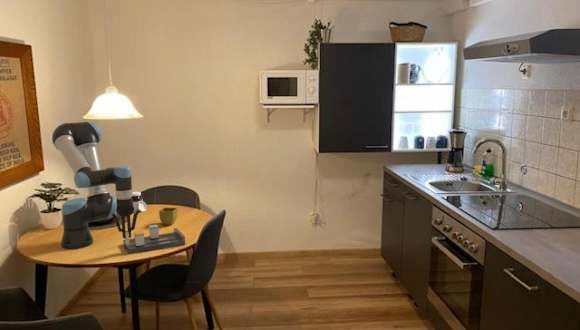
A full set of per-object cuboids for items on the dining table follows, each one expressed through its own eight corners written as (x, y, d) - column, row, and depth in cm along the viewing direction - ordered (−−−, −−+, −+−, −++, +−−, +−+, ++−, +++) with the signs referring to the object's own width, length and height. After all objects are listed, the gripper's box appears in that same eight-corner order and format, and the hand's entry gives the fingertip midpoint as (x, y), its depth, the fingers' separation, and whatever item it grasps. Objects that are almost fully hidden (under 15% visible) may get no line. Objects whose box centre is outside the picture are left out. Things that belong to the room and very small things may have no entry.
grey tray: (129, 254, 227) (128, 245, 227) (123, 244, 241) (122, 236, 241) (185, 244, 241) (184, 236, 240) (176, 236, 255) (176, 228, 254)
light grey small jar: (151, 238, 242) (150, 227, 241) (149, 236, 245) (148, 225, 244) (159, 237, 244) (158, 226, 243) (157, 235, 247) (156, 224, 246)
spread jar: (133, 208, 313) (132, 191, 311) (149, 208, 313) (148, 191, 311) (126, 212, 301) (125, 195, 299) (144, 212, 301) (143, 195, 299)
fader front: (136, 246, 230) (135, 234, 229) (134, 243, 234) (133, 232, 233) (144, 244, 232) (144, 233, 231) (143, 242, 236) (142, 231, 235)
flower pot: (178, 222, 281) (178, 207, 279) (173, 226, 272) (172, 211, 271) (164, 221, 282) (163, 207, 280) (159, 225, 273) (158, 211, 272)
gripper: (111, 201, 220) (114, 248, 224) (139, 197, 226) (142, 244, 230) (109, 197, 226) (112, 244, 230) (136, 194, 233) (139, 239, 236)
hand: (127, 244), depth 230 cm, fingers closed
